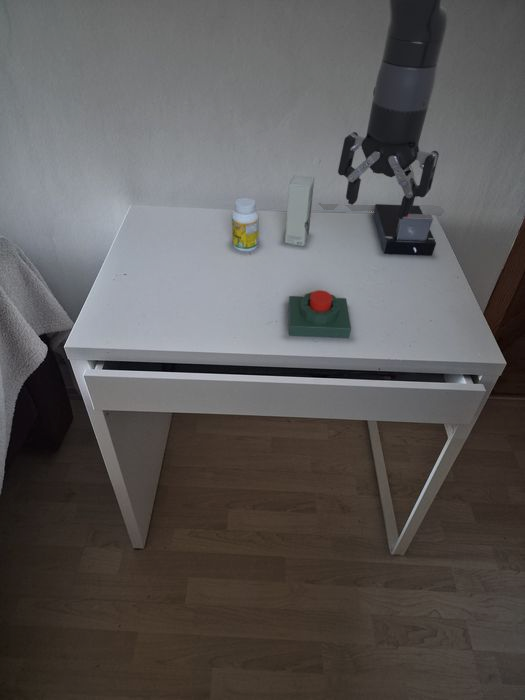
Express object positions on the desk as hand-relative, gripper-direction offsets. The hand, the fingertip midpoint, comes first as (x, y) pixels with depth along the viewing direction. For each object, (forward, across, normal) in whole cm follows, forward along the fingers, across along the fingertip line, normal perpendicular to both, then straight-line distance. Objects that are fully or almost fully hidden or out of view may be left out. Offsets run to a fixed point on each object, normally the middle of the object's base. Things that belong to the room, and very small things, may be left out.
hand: (376, 209), depth 72 cm
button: (+12, +2, +13) cm, 18 cm away
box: (+16, +18, -9) cm, 26 cm away
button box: (+16, +2, +12) cm, 21 cm away
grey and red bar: (+13, -3, -18) cm, 22 cm away
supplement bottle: (+16, +26, 0) cm, 31 cm away
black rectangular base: (+16, -1, -22) cm, 27 cm away
